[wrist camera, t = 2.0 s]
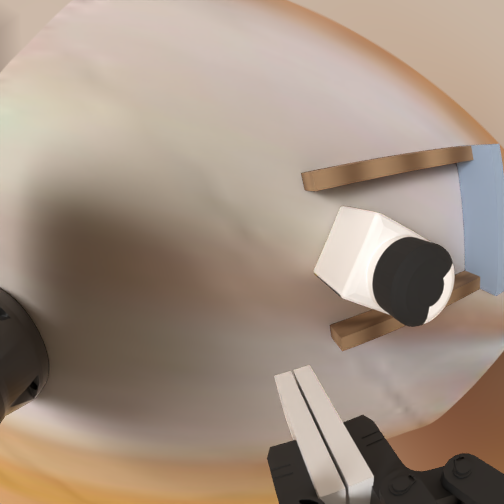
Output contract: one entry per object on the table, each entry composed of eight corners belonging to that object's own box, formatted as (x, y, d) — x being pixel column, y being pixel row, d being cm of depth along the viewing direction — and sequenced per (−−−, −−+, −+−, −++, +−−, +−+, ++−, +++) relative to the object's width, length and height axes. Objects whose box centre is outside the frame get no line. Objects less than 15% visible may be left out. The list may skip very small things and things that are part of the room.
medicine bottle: (311, 272, 29) (371, 325, 18) (340, 203, 28) (417, 219, 17) (367, 293, 31) (437, 345, 19) (394, 231, 30) (476, 258, 18)
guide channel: (331, 337, 31) (342, 351, 28) (301, 173, 27) (311, 172, 24) (464, 281, 33) (479, 288, 30) (454, 146, 29) (471, 145, 26)
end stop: (464, 281, 33) (496, 296, 27) (454, 146, 29) (490, 144, 23) (474, 277, 33) (504, 290, 27) (463, 145, 29) (499, 143, 23)
